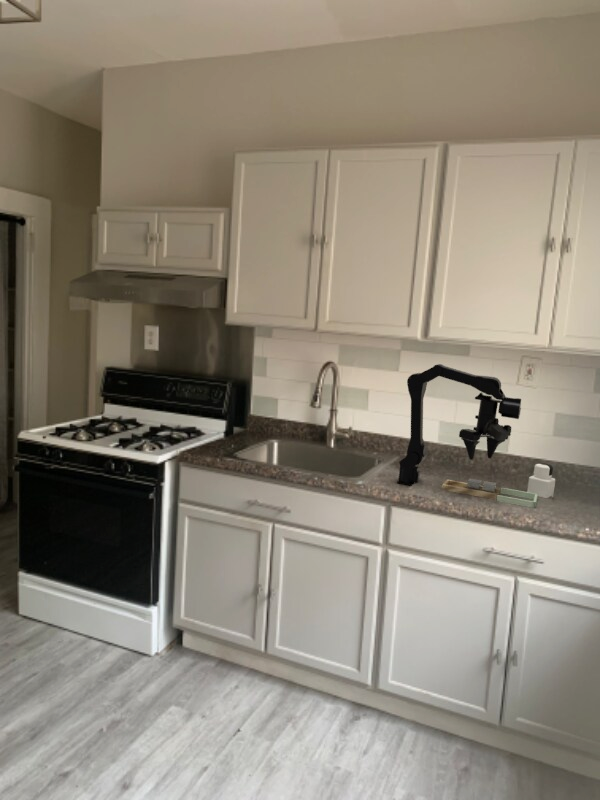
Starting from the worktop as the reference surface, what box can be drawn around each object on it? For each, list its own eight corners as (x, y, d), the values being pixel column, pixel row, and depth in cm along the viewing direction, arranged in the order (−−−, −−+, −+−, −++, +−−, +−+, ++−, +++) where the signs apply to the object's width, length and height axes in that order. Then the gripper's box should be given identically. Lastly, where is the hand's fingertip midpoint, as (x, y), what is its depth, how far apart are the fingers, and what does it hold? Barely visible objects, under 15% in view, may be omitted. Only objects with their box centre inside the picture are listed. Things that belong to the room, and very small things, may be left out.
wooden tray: (441, 492, 217) (442, 484, 217) (446, 487, 225) (447, 479, 225) (495, 502, 210) (496, 494, 210) (498, 496, 218) (499, 488, 218)
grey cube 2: (466, 492, 216) (467, 480, 216) (468, 489, 220) (469, 478, 219) (478, 494, 215) (479, 482, 214) (480, 491, 218) (481, 480, 218)
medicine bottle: (532, 493, 227) (537, 460, 225) (553, 498, 223) (557, 465, 221) (525, 496, 222) (530, 463, 220) (546, 501, 217) (551, 467, 215)
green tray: (496, 504, 209) (497, 495, 208) (500, 495, 220) (501, 487, 219) (534, 511, 204) (535, 502, 204) (536, 502, 215) (537, 493, 215)
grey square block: (481, 494, 214) (482, 483, 214) (483, 492, 218) (484, 480, 217) (493, 497, 213) (494, 485, 212) (494, 494, 216) (496, 483, 216)
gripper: (487, 419, 201) (480, 466, 204) (524, 418, 211) (517, 463, 214) (461, 412, 210) (454, 457, 213) (498, 412, 221) (491, 455, 223)
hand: (480, 458), depth 215 cm, fingers open, 9 cm apart
